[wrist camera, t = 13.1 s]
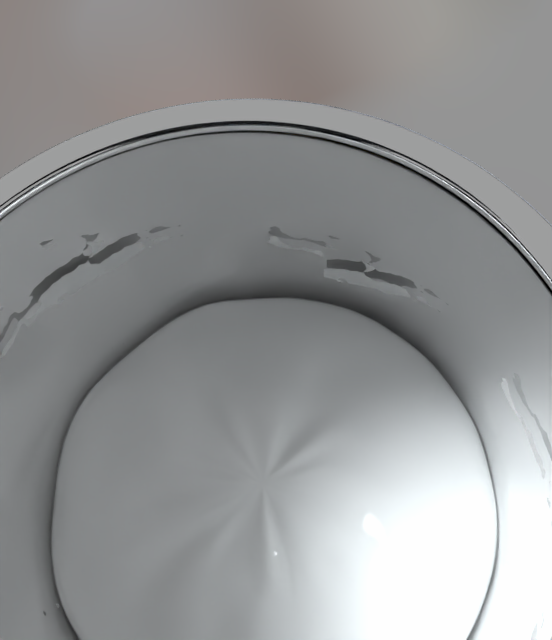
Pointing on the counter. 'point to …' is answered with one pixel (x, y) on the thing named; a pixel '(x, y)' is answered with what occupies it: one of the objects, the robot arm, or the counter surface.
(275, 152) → the beer glass
